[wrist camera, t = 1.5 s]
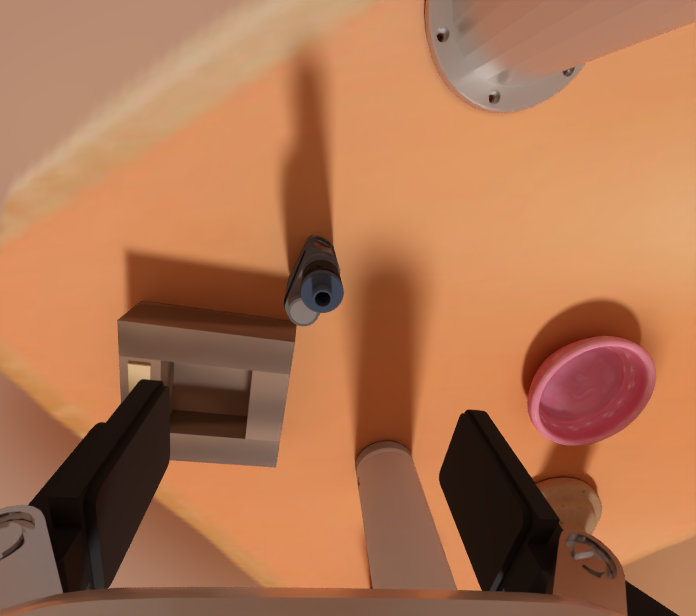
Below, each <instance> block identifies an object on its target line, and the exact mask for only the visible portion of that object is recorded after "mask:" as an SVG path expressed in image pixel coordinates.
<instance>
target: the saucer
mask: <svg viewBox="0 0 696 616" xmlns="http://www.w3.org/2000/svg"><path fill="white" fill-rule="evenodd" d="M655 379H656V371H655V366H654V362H653V360H652V358H651V356H650V355H649V354H648V352H647V351H646V350H645V349H643V348H642V347H641V346H639V345H638V344H636V343H634V342H632V341H630V340H627V339H625V338H621V337H616V336H596V337H591V338H586V339H582V340H579V341H576V342H573V343H570V344H568V345H566V346H563V347H561V348H560V349H558V350H556V351H555V352H553V353H552V354H551V355H550V356H548V357H547V358H546V359H545V360H544V362H543V363H542V364H541V365H540V367H539V368H538V370H537V371H536V373H535V376H534V378H533V380H532V383H531V386H530V389H529V395H528V402H527V403H528V413H529V416H530V419H531V421H532V423H533V425H534V426H535V427H536V429H537V430H538V431H539V432H540V433H541V434H542V435H543V436H544V437H546V438H547V439H549V440H551V441H553V442H555V443H558V444H562V445H570V446H577V445H587V444H591V443H595V442H598V441H601V440H604V439H606V438H608V437H610V436H612V435H614V434H616V433H618V432H619V431H621V430H623V429H624V428H625V427H627V426H628V425H629V424H630V423H631V422H633V421H634V420H635V419H636V418H637V417H638V415H639V414H640V413H641V412H642V411H643V409H644V408H645V406H646V405H647V403H648V401H649V399H650V397H651V395H652V393H653V390H654V386H655Z"/></svg>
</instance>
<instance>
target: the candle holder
mask: <svg viewBox="0 0 696 616" xmlns="http://www.w3.org/2000/svg"><path fill="white" fill-rule="evenodd" d="M536 485H537V487H538V488H539V490H540V491H541V492H542V494H543V495H544V497H545V498H546V500H547V501H548V503H549V504H550V506H551V507H552V508H553V510H554V511H555V513H556V514H557V516H558V517H559V519H560V521H559V524H560V526H561V527H562V529H563V530H566V529H578V530H582V531H584V532H586V533H588V534H590V535H592V534H593V532H594V530H595V527H596V526H597V524H598V522H599V520H600V517H601V512H602V505H601V501H600V498H599V496H598V495H597V493H596V492H595V491H594V489H593V488H592V487H590V486H589V485H588V484H587V483H585V482H583V481H581V480H578V479H574V478H568V477H560V478H552V479H548V480H544V481H541V482H539V483H536ZM625 581H627V580H625ZM627 582H628V581H627Z"/></svg>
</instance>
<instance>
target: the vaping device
mask: <svg viewBox="0 0 696 616" xmlns="http://www.w3.org/2000/svg"><path fill="white" fill-rule="evenodd" d="M343 294H344V291H343V286H342V282H341V278H340V268H339V265H338V262H337V258H336V255H335V251H334V247H333V246H331V244H330V243H329V242H328V241H327V240H325V239H323V238H320V237H313V236H311V237H309V238H308V240H307V242H306V244H305V246H304V248H303V250H302V252H301V254H300V256H299V258H298V260H297V263H296V265H295V267H294V269H293V271H292V273H291V274H290V276H289V279H288V284H287V289H286V294H285V299H284V308H285V310H286V313H287V314H288V316H289V318H290V320H291V321H292V322H293V323H294V324H296V325H299V326H308V325H311V324H313V323H314V322H315V321H316V320H317V318H318V316H319V315H320V313H326V312H330V311H332V310H334V309H335V308H337V307H338V306H339V304H340V303H341V301H342V299H343Z"/></svg>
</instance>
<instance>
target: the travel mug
mask: <svg viewBox="0 0 696 616" xmlns="http://www.w3.org/2000/svg"><path fill="white" fill-rule="evenodd" d="M355 467H356V476H357V482H358V489H359V496H360V503H361V510H362V517H363V524H364V531H365V538H366V545H367V552H368V559H369V566H370V573H371V580H372V587H373V589H416V590H457V587H456V585H455V582H454V579H453V576H452V573H451V570H450V567H449V564H448V561H447V558H446V555H445V552H444V550H443V547H442V544H441V541H440V538H439V535H438V532H437V529H436V526H435V523H434V520H433V517H432V515H431V512H430V509H429V506H428V503H427V500H426V497H425V494H424V491H423V488H422V485H421V482H420V479H419V477H418V474H417V471H416V468H415V466H414V462H413V459H412V456H411V454H410V452H409V450H408V449H407V448H406V447H404V446H403V445H401V444H399V443H397V442H393V441H382V442H377V443H374V444H372V445H370V446H368V447H367V448H365V449H364V450H363V451H362V452H361V453H360V455H359V456H358V458H357V460H356V464H355Z"/></svg>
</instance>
